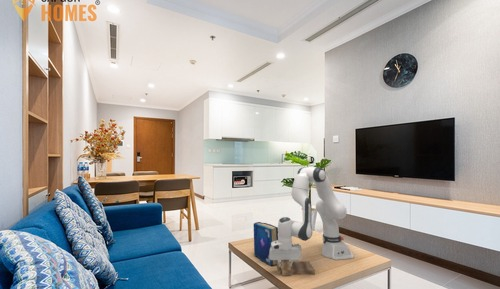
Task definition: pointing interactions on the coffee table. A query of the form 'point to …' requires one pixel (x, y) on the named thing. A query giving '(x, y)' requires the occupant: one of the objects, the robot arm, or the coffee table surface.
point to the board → (299, 268)
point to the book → (264, 241)
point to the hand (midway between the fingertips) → (285, 266)
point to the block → (286, 268)
